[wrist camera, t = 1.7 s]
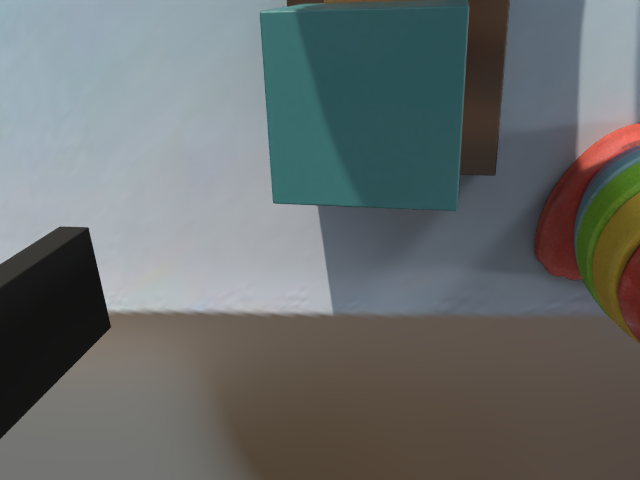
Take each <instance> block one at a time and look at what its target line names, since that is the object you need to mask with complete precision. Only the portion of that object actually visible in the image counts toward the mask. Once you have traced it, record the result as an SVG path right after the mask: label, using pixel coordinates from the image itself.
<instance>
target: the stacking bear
mask: <svg viewBox="0 0 640 480" xmlns="http://www.w3.org/2000/svg"><path fill="white" fill-rule="evenodd" d="M534 247H535V254H536V257H537V259H538V260H539V261H540V262H541V263H543V264H544V266H545V269H546V270H547V271H548V272H549V273H550V274H551V275H553V276H558V277H566V278H567V279H570V280H578V279H583V281H584V283H585V285H586V287H587V289H588V290H589V292H590V293H591V295H592V296H593V298H594V299H595V301H596V302H597V303H598V305H599V306H600V307H601V308H602V309H603V311H604V312H605V313H606V314H607V315H608V316H609V317H610V318H611V319H613V320H614V321H615V322H616V323H617V324H618V325H619V327H621V328H622V329H623V330H624V331H625V332H626V333H627V334H628V335H629V336H631V337H632V338H633V339H635V340H636V341H637V342H639V343H640V123H638V124H633V125H629V126H627V127H624V128H621V129H618V130H616V131H614V132H612V133H610V134H608V135H606V136H605V137H603V138H602V139H600V140H599V141H597V142H596V143H595V144H593V145H592V146H591V147H590V148H589V149H588V150H586V151H585V152H584V153H583V154H582V155H581V156H580V157H579V158H578V159H577V160H576V161H575V162H574V163H573V164H572V165H571V167H570V168H569V169H568V170H567V171H566V172H565V174H564V175H563V176H562V178H561V179H560V180H559V182H558V184H557V185H556V187H555V188H554V190H553V191H552V193H551V195H550V196H549V198H548V200H547V202H546V204H545V206H544V209H543V212H542V214H541V217H540V220H539V223H538V227H537V231H536V237H535V245H534Z"/></svg>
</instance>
